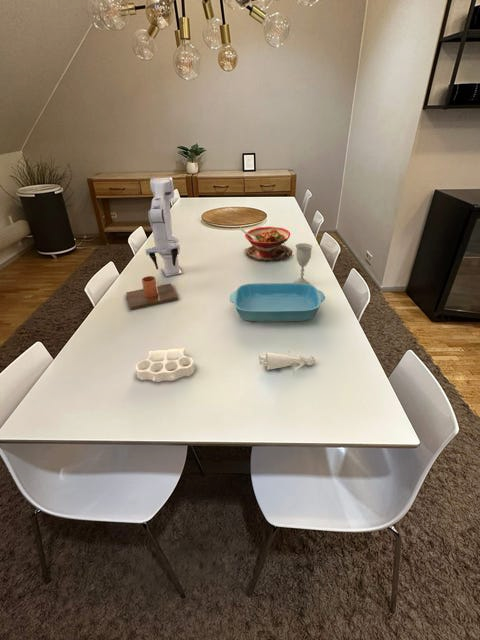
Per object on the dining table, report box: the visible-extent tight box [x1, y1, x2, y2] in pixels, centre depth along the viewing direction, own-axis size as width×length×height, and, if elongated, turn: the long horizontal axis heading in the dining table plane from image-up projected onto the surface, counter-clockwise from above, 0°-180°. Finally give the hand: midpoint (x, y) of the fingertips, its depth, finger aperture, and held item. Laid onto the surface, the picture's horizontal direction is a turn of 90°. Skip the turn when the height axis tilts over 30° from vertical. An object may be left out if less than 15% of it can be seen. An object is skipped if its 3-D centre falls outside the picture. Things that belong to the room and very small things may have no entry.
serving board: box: [125, 282, 179, 311], centre depth 151 cm, size 14×20×2 cm
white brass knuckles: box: [134, 347, 195, 383], centre depth 110 cm, size 3×18×15 cm
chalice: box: [295, 242, 314, 284], centre depth 152 cm, size 7×7×18 cm
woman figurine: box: [258, 349, 316, 374], centre depth 109 cm, size 12×4×18 cm
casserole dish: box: [229, 282, 326, 323], centre depth 136 cm, size 37×22×7 cm, turn 86°
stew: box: [238, 225, 293, 263], centre depth 182 cm, size 28×24×16 cm
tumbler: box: [141, 275, 158, 298], centre depth 148 cm, size 6×6×8 cm
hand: (165, 266), depth 154 cm, fingers open, 7 cm apart
